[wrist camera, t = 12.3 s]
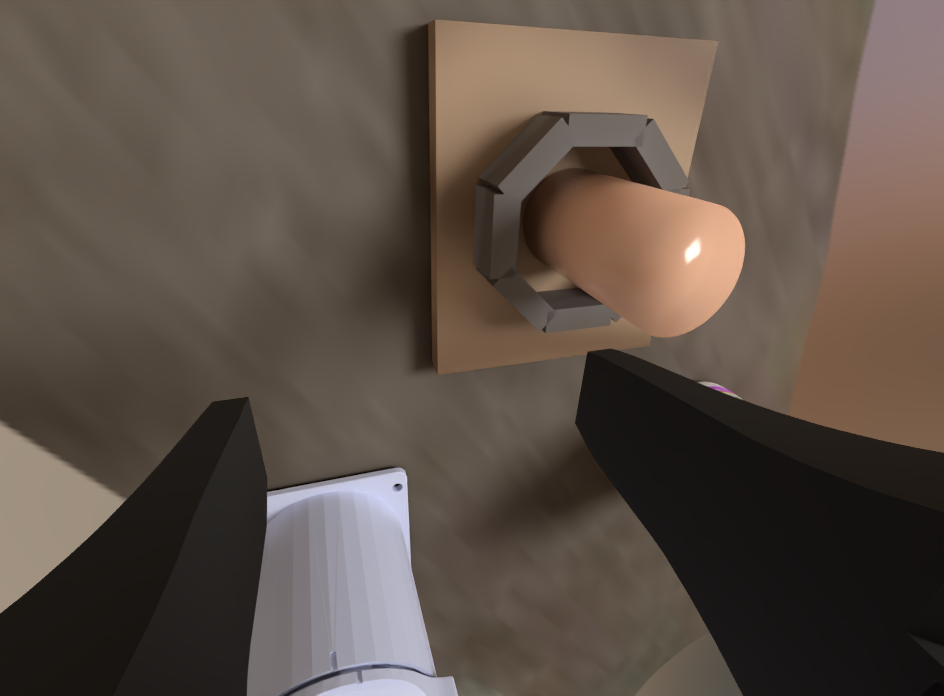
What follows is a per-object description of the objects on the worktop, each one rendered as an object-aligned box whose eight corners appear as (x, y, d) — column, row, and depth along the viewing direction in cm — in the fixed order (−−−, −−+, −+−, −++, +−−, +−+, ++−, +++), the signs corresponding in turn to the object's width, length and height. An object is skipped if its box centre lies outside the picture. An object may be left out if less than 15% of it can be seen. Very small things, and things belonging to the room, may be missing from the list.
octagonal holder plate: (637, 337, 25) (675, 364, 23) (432, 363, 22) (449, 399, 19) (699, 43, 19) (761, 36, 16) (428, 23, 16) (452, 11, 13)
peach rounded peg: (603, 262, 21) (724, 328, 15) (520, 270, 20) (615, 345, 14) (618, 166, 19) (761, 199, 13) (527, 169, 18) (640, 206, 12)
